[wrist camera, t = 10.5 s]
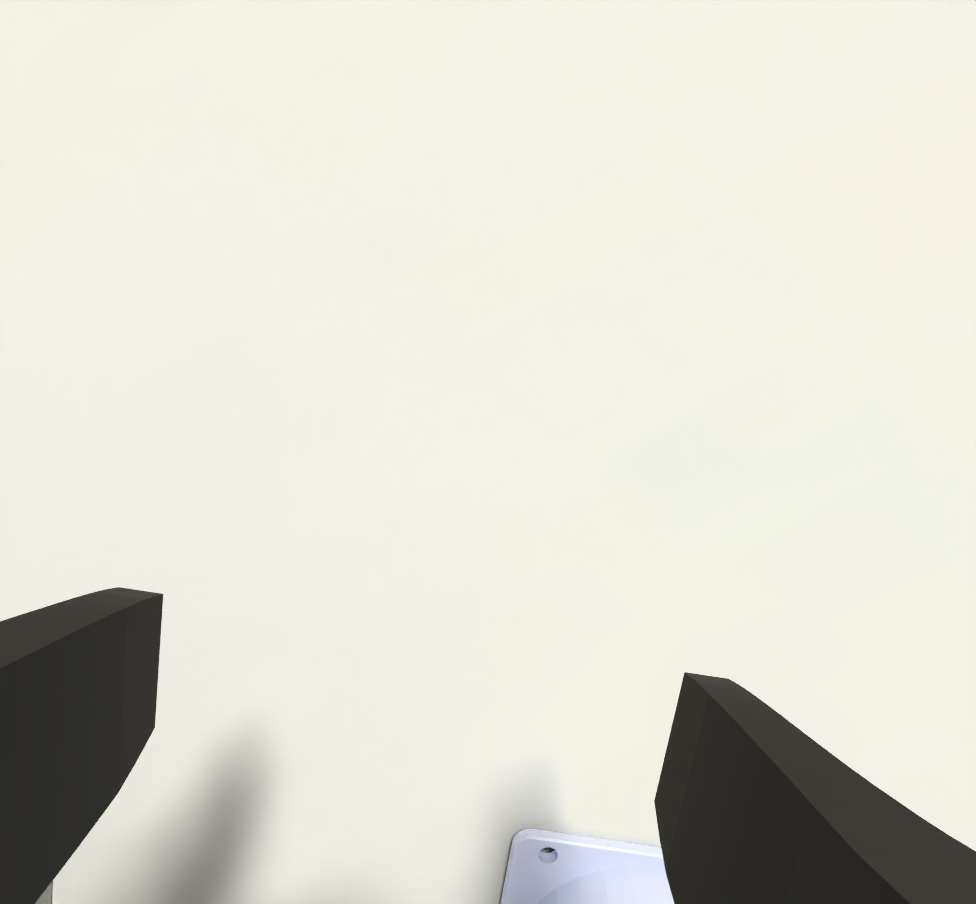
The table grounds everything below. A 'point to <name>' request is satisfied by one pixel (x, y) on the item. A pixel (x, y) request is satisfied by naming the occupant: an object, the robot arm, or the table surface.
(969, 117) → the table surface
